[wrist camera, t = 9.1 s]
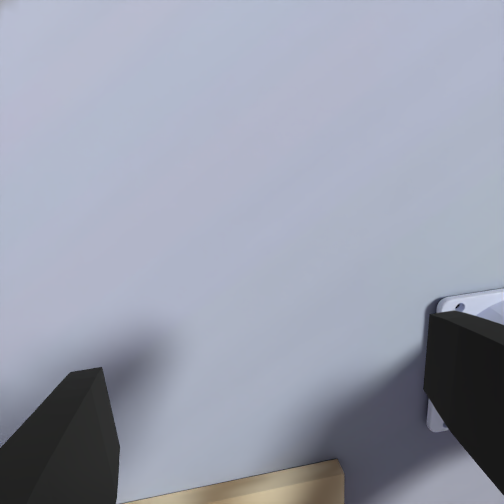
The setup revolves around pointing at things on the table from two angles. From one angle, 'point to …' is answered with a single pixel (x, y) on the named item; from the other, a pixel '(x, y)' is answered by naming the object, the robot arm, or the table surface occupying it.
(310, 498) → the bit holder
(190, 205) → the table surface
